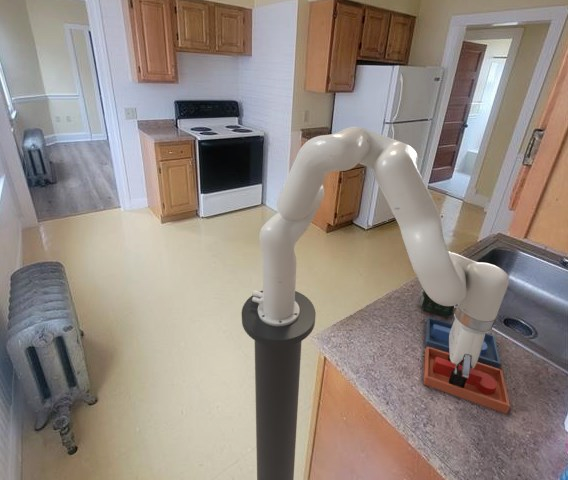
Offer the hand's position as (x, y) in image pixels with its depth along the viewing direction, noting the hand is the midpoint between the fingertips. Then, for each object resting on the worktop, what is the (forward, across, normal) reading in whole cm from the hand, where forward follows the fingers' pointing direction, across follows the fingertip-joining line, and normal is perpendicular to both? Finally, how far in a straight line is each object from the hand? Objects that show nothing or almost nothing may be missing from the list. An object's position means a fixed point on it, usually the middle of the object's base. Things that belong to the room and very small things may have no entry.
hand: (455, 372), depth 78 cm
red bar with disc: (+1, 0, +2) cm, 2 cm away
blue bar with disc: (+1, -12, +1) cm, 12 cm away
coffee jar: (+2, -26, -4) cm, 26 cm away
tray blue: (+2, -12, +2) cm, 12 cm away
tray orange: (+2, 0, +2) cm, 2 cm away
